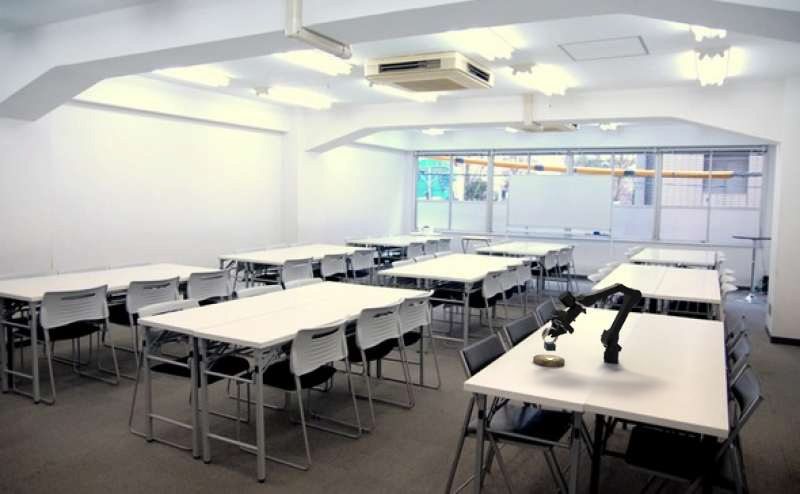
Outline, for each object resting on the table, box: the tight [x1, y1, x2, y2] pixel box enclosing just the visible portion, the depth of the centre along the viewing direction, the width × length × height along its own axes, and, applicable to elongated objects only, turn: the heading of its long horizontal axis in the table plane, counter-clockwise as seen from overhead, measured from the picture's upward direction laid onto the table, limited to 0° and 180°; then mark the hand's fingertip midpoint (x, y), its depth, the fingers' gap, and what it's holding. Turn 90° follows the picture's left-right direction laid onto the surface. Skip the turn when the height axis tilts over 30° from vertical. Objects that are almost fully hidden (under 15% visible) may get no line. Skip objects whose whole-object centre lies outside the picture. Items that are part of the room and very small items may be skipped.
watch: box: [541, 326, 559, 352], centre depth 281 cm, size 6×8×11 cm
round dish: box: [532, 353, 566, 368], centre depth 282 cm, size 15×15×2 cm
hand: (549, 336), depth 281 cm, fingers closed on watch, 4 cm apart
